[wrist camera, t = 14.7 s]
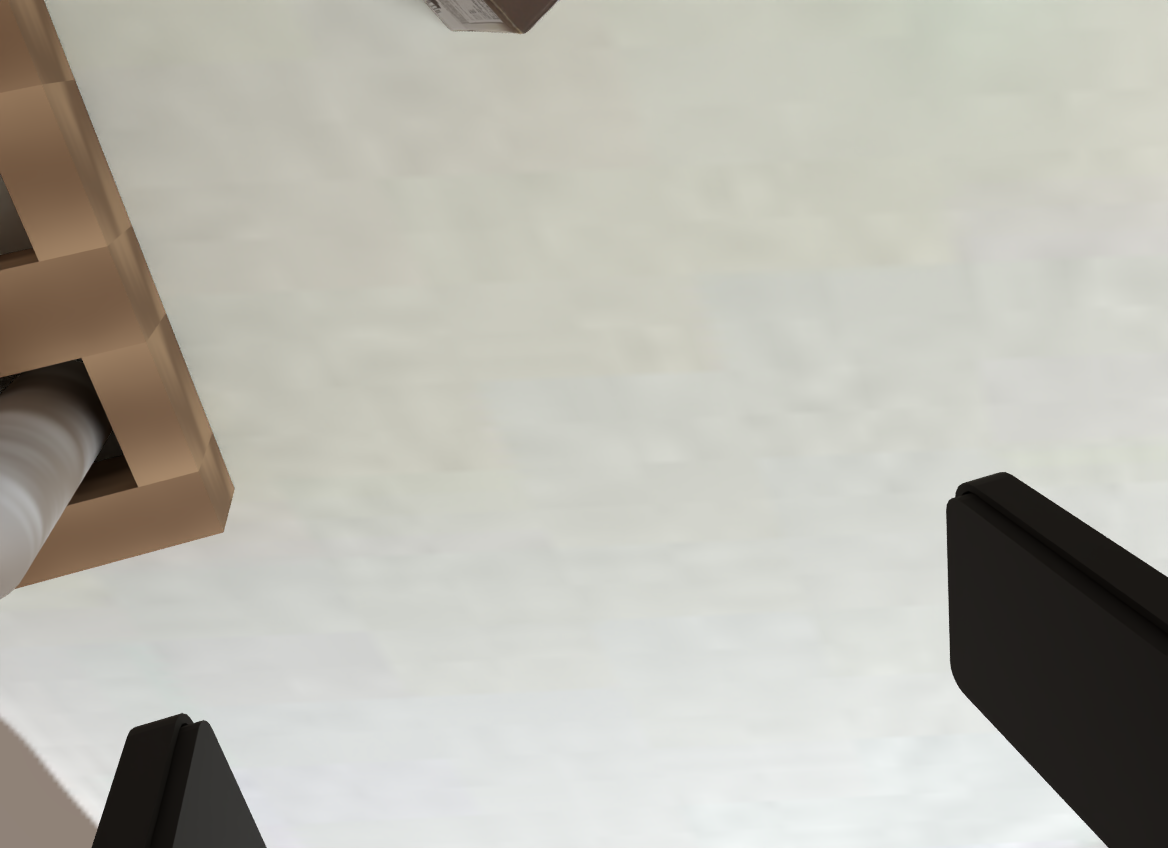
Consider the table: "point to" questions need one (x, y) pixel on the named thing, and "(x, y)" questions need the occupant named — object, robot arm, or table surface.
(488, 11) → the coffee box
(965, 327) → the table surface
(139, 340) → the holder block
